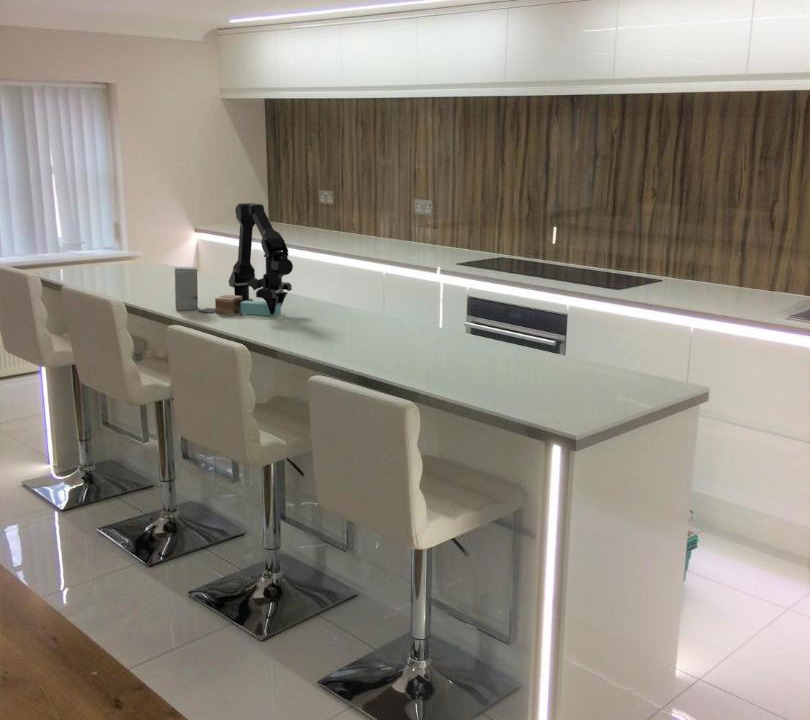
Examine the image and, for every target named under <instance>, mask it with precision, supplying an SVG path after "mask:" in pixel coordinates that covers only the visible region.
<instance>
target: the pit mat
mask: <svg viewBox="0 0 810 720" xmlns="http://www.w3.org/2000/svg"><path fill="white" fill-rule="evenodd" d="M197 311H198V310H197ZM197 313H203V314H214V313H215V314H216V308H211V307H206V308H204V309H200V310H199V311H198V312H197Z"/></svg>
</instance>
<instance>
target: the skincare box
mask: <svg viewBox="0 0 810 720" xmlns="http://www.w3.org/2000/svg"><path fill="white" fill-rule="evenodd" d="M198 294H199V293H198V268H197V267H196V266H174V295H175V298H174V300H175V301H174V302H175V303H174V304H175V310H176V311H195V310H196V311H198V310H199V305H198V304H199V301H198V299H199V298H198V297H199V296H198Z"/></svg>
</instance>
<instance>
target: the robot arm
mask: <svg viewBox="0 0 810 720" xmlns="http://www.w3.org/2000/svg"><path fill="white" fill-rule="evenodd" d="M234 212H235V216H236V217H235V218H236V221H237V222H238V224H239V237H238V251H237V252H238V253H237V254H238V255H237V261H236V262H235V264H234V265H233V268H232V272H231V273H230V276H229V279H228V285H229V287H232V288H234V289H233V291H234V294H233V295H236V296H242V302H244V301H253V300H254V299H253V298H250V287H251V288H252V289H253V291H256V292H255V297H256V298H261V299H263V300H264V302H266V303H267V305H268V308H269V311H270V314H271V315H273V314H274V311H275V308H276V304H277V303H281V307H282V306H283V304H284V301H285V299H286V297H287V295H288V293H289V292H290V291H292V289H293V288H292V287H293V286H292V284H291V283H290V282H286V281H283V277H284V276H287V275H290V274H291V273H292V271H293V269H294V264H293V262H292V261H291V260H290V259H288V258H289V257H288V256H289V249H288V246H287V244H286V242H285V239H284V238H283V236H282V235H281V233H280V232H279V231H276V230H275V229H274V228H273V225H272V224H271V222H270V219H269V218H268V216H267V213H266V211H265V207H264V205H263V204H261V203H256V202H250V203H249V202H245V203H243V202H241V203H238V204H237V205H236V207H235V209H234ZM255 226H256V227H257V229H258V232H259V234H260V235H261V242H260V244H261V249H262V250H263V252H264V255H263V257H264V258H265V273H264V274H263V275H262V278H259V279H257V277H256V273H255V272H256V270H255V267H253V264H252V263H251V258H252V243H253V230H254V228H253V227H255ZM285 290H286V291H285Z"/></svg>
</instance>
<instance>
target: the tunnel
mask: <svg viewBox="0 0 810 720" xmlns="http://www.w3.org/2000/svg"><path fill="white" fill-rule="evenodd" d="M214 301H215V302H214V303H215V309H216V312H215V315H226V316H227V315H228V316H234V315H235V313H236V312H239V313H241V302H242V296H236V295H234V294H223V295H222V296H218V297H216V298H214Z"/></svg>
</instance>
